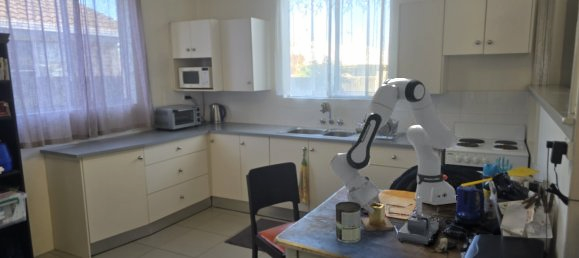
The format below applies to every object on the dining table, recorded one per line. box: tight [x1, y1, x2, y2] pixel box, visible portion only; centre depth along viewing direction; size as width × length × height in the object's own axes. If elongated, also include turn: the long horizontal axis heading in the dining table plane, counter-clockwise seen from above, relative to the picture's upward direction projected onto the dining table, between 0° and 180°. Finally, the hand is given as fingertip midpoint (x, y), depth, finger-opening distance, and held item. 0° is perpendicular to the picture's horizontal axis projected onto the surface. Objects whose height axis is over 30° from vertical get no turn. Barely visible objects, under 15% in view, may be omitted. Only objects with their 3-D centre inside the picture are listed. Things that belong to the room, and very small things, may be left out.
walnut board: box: [360, 216, 395, 232], centre depth 184 cm, size 12×12×1 cm
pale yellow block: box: [368, 202, 386, 226], centre depth 183 cm, size 5×5×8 cm
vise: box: [397, 196, 440, 246], centre depth 172 cm, size 18×12×16 cm, turn 147°
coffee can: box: [335, 201, 362, 244], centre depth 170 cm, size 10×10×14 cm
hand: (377, 209), depth 183 cm, fingers open, 8 cm apart
